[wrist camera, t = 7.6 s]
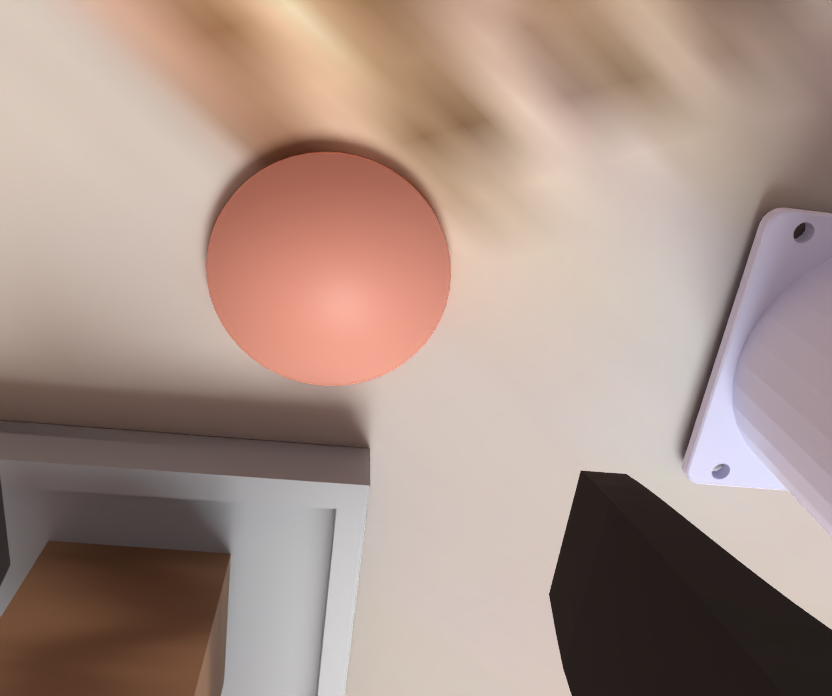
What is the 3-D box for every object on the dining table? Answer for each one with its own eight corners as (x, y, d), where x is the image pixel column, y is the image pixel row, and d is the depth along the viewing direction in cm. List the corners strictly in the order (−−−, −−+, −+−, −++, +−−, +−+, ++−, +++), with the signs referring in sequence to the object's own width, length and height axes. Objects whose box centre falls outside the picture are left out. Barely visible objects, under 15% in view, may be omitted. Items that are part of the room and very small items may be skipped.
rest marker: (466, 167, 17) (467, 169, 17) (432, 389, 20) (433, 394, 19) (210, 136, 17) (208, 138, 16) (207, 370, 19) (205, 375, 19)
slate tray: (369, 448, 20) (369, 485, 19) (334, 745, 25) (332, 795, 23) (-86, 413, 19) (-129, 450, 17) (-33, 734, 24) (-63, 786, 22)
